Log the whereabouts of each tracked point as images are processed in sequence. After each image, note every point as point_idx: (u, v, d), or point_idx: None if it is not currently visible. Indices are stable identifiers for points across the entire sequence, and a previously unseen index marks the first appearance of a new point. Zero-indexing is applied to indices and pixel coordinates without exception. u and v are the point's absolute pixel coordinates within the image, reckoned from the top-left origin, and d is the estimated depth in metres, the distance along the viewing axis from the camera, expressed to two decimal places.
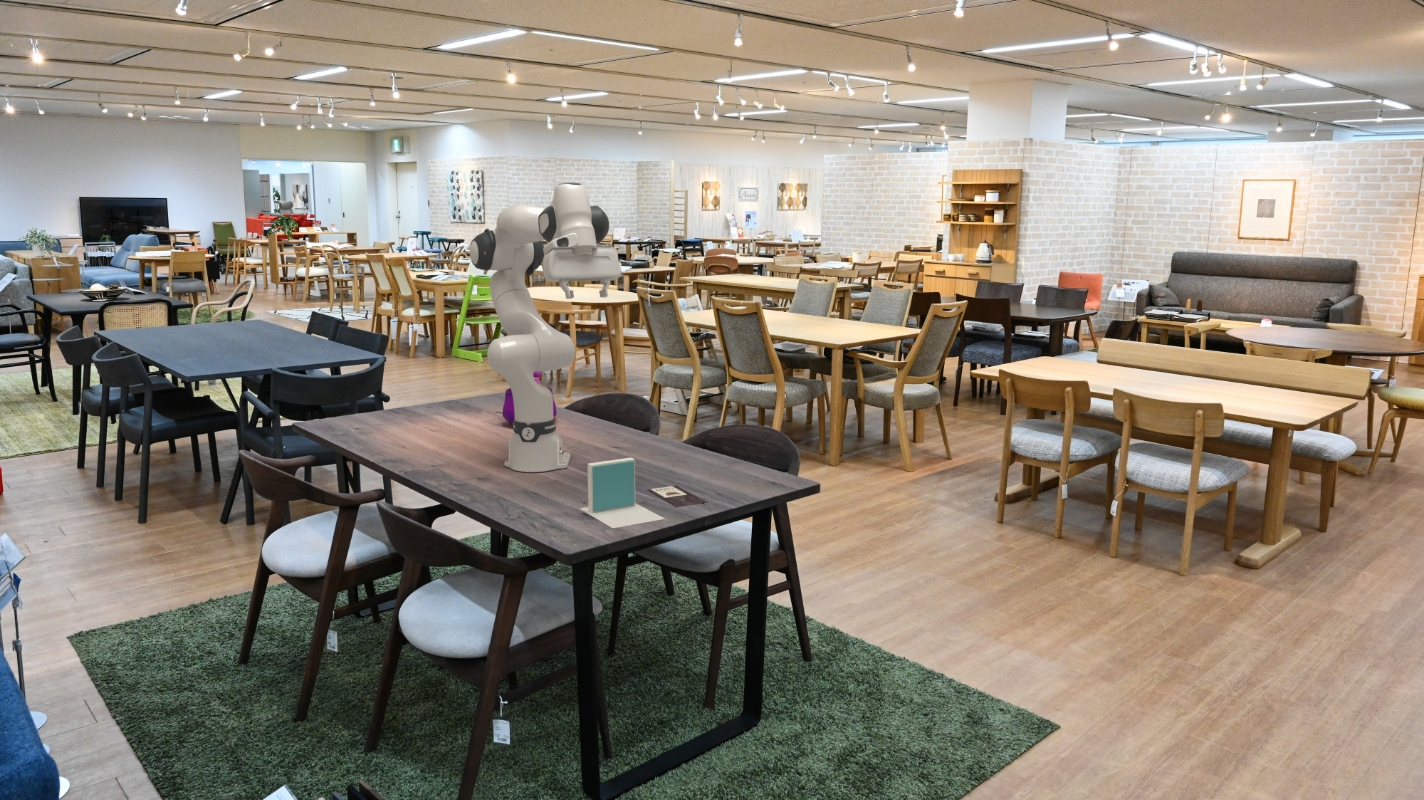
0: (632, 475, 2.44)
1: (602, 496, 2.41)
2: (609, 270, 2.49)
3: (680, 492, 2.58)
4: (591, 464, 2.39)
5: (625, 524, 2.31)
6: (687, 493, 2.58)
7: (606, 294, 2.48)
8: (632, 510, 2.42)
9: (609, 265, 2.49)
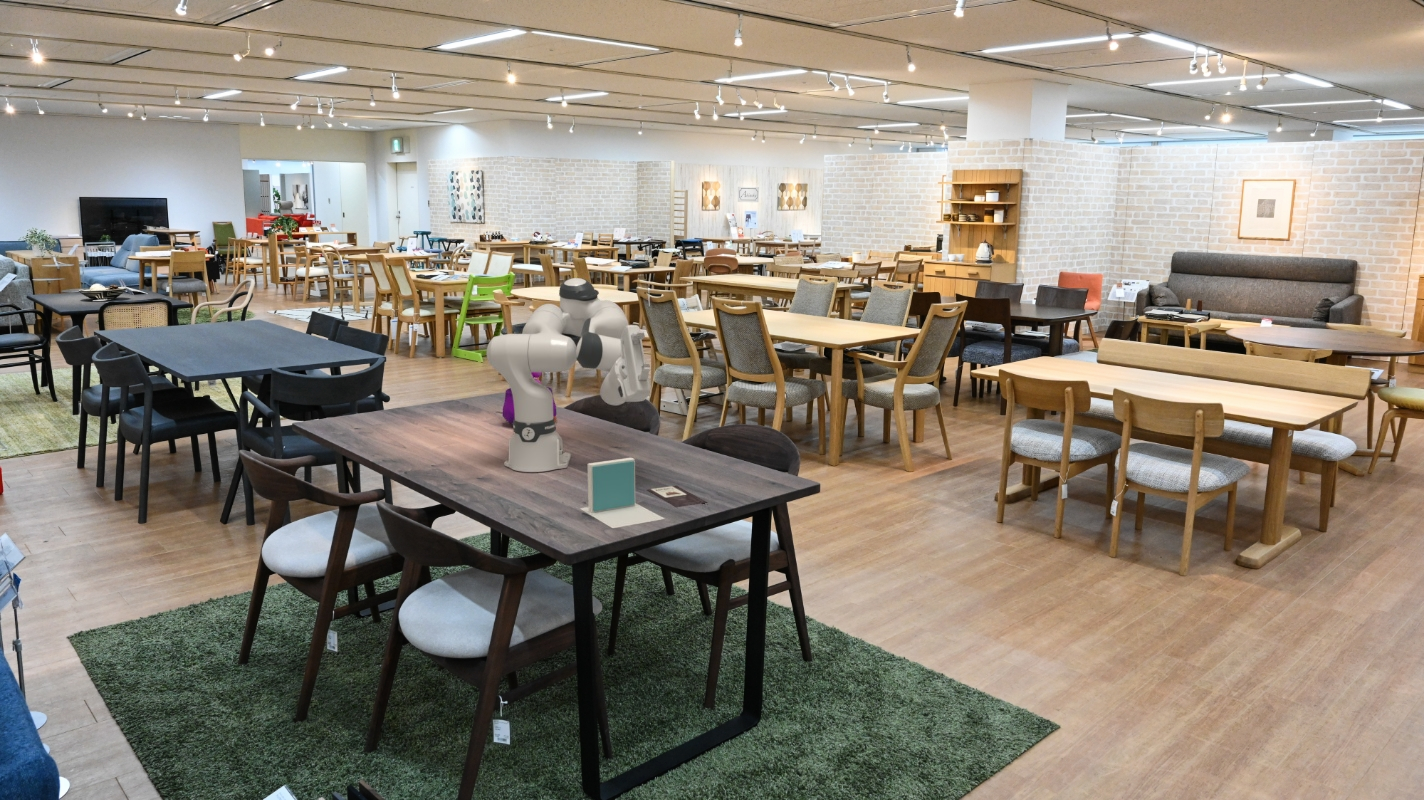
0: (632, 475, 2.44)
1: (602, 496, 2.41)
2: (626, 339, 2.61)
3: (680, 492, 2.58)
4: (591, 464, 2.39)
5: (625, 524, 2.31)
6: (687, 493, 2.58)
7: (637, 333, 2.56)
8: (632, 510, 2.42)
9: (625, 340, 2.62)
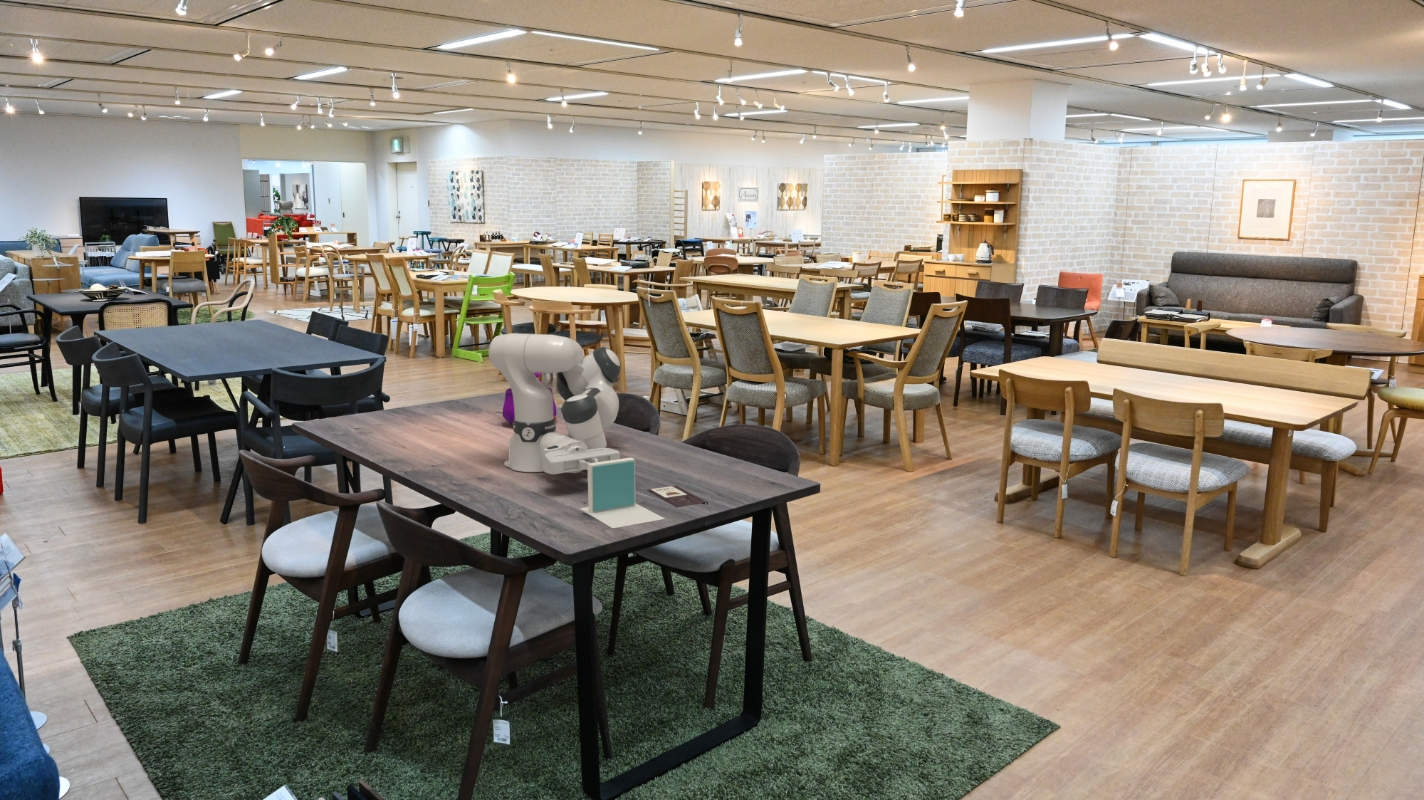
0: (632, 475, 2.44)
1: (602, 496, 2.41)
2: (605, 452, 2.62)
3: (680, 492, 2.58)
4: (591, 464, 2.39)
5: (625, 524, 2.31)
6: (687, 493, 2.57)
7: None
8: (632, 510, 2.42)
9: (604, 450, 2.63)
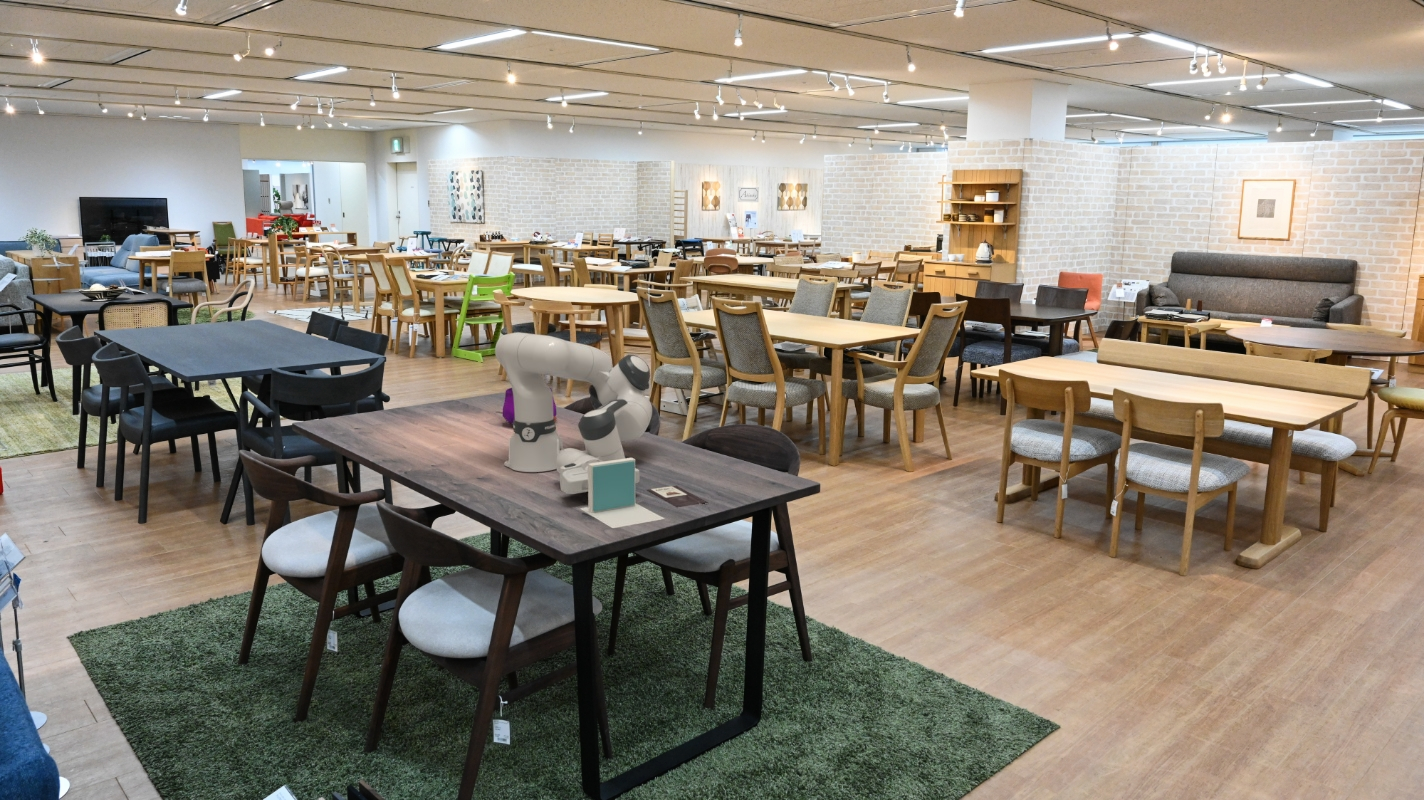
0: (632, 475, 2.44)
1: (602, 496, 2.41)
2: None
3: (680, 492, 2.58)
4: (591, 464, 2.39)
5: (625, 524, 2.31)
6: (687, 493, 2.57)
7: None
8: (632, 510, 2.42)
9: None
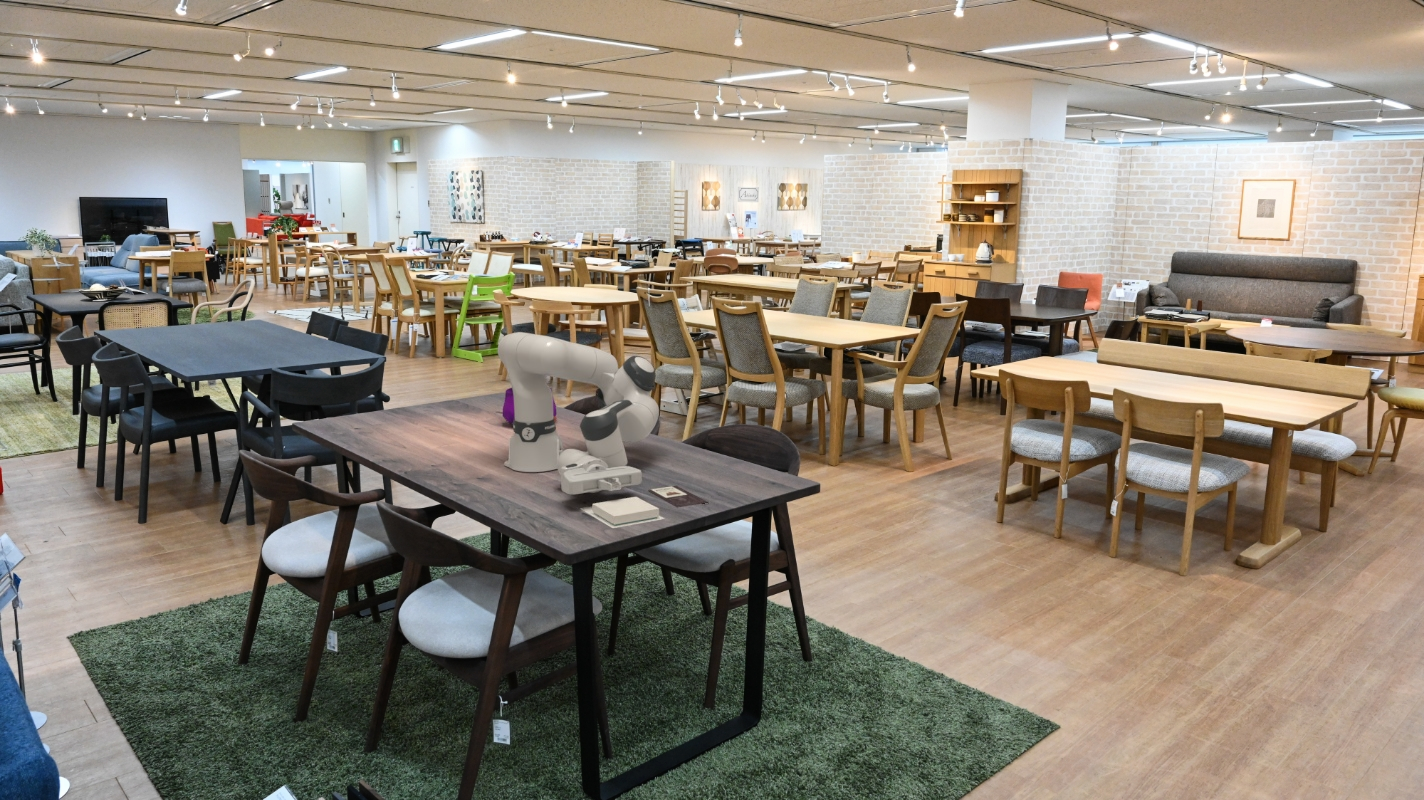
0: None
1: None
2: (627, 471, 2.50)
3: (680, 492, 2.58)
4: (616, 520, 2.30)
5: (625, 524, 2.31)
6: (687, 493, 2.57)
7: (618, 482, 2.42)
8: None
9: (626, 469, 2.51)
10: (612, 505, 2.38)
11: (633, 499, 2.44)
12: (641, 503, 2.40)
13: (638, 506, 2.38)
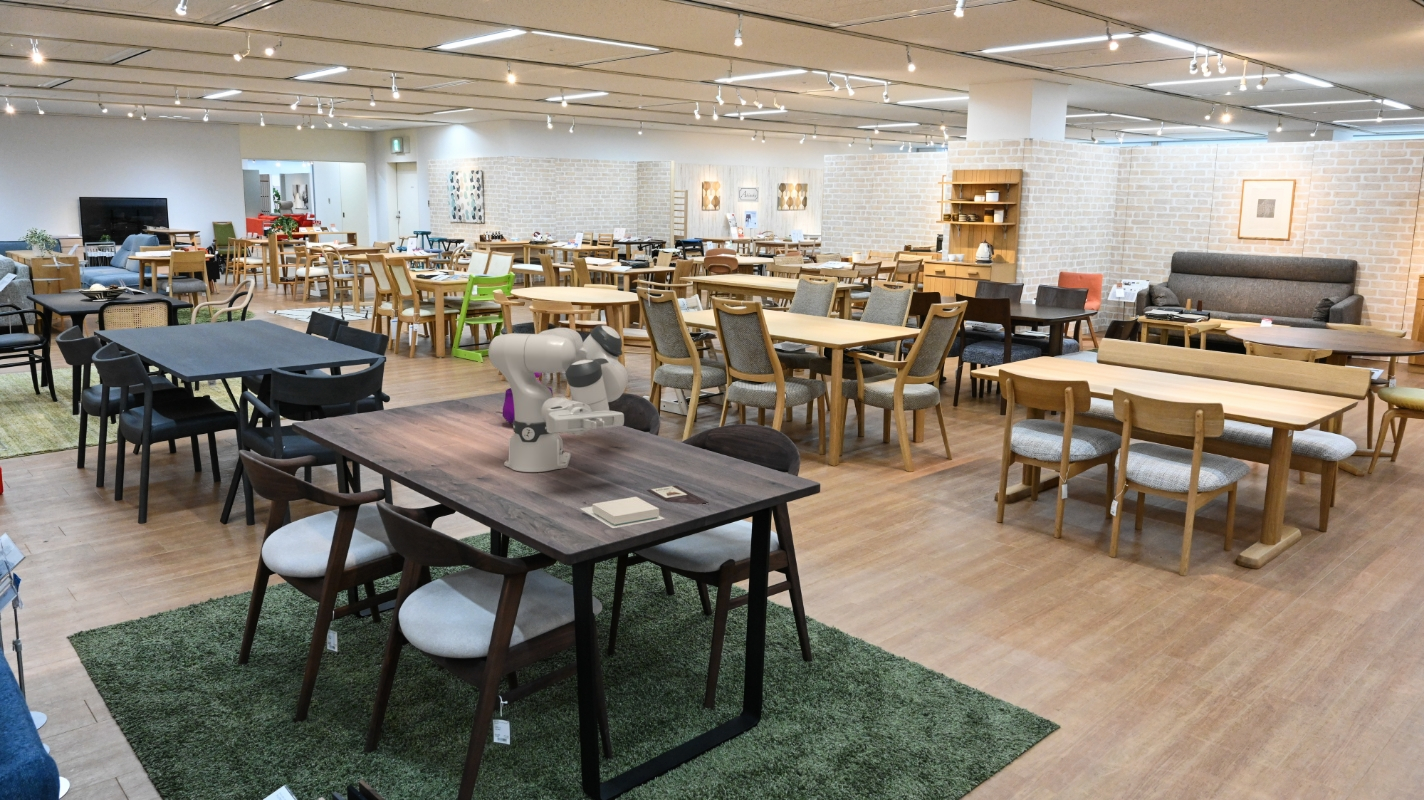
0: None
1: None
2: (610, 413, 2.60)
3: (681, 492, 2.58)
4: (616, 520, 2.30)
5: (625, 524, 2.31)
6: (687, 493, 2.57)
7: (602, 421, 2.52)
8: None
9: (608, 412, 2.61)
10: (612, 505, 2.38)
11: (633, 499, 2.44)
12: (641, 503, 2.40)
13: (638, 506, 2.38)
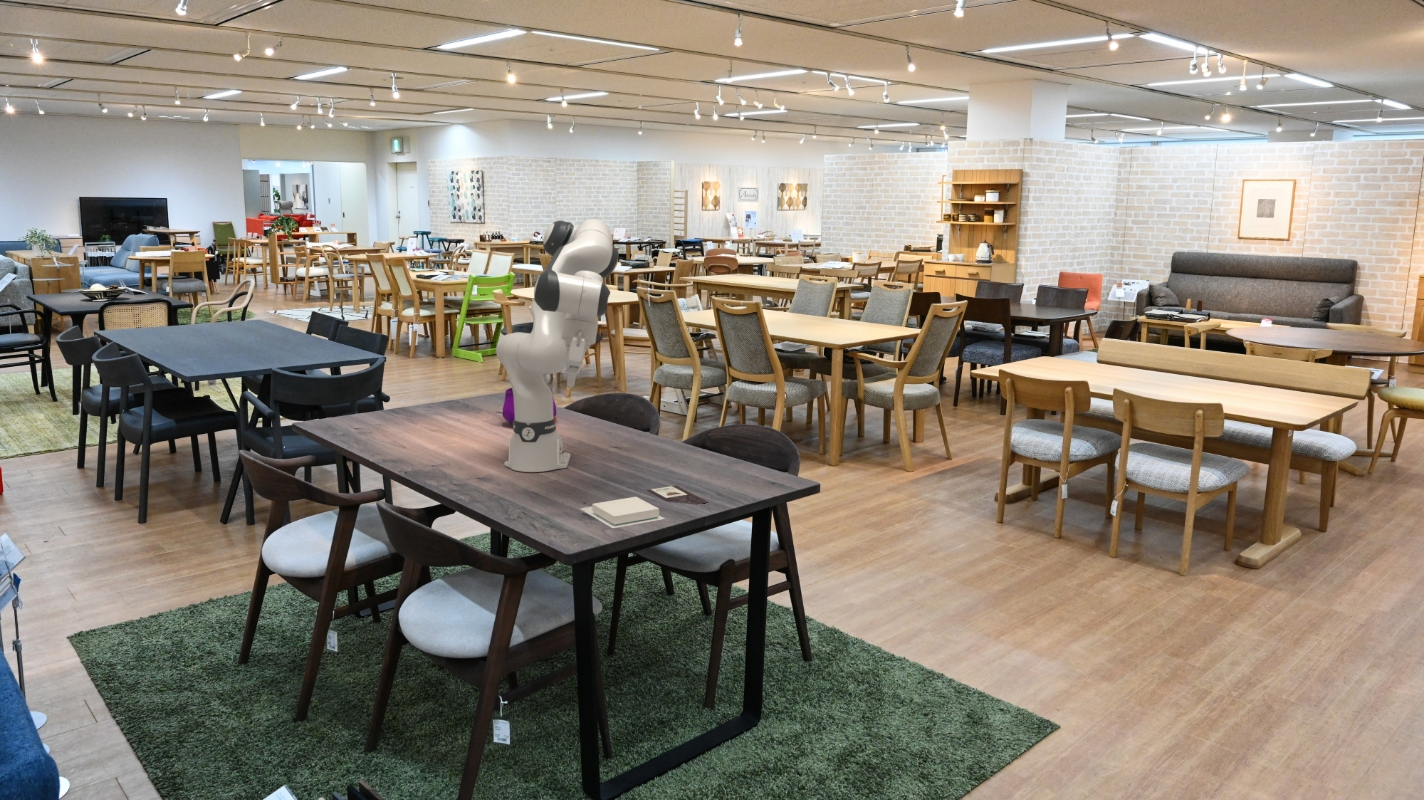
0: None
1: None
2: None
3: (681, 492, 2.58)
4: (616, 520, 2.30)
5: (625, 524, 2.31)
6: (687, 493, 2.57)
7: (567, 384, 2.50)
8: None
9: None
10: (612, 505, 2.38)
11: (633, 499, 2.44)
12: (641, 503, 2.40)
13: (638, 506, 2.38)
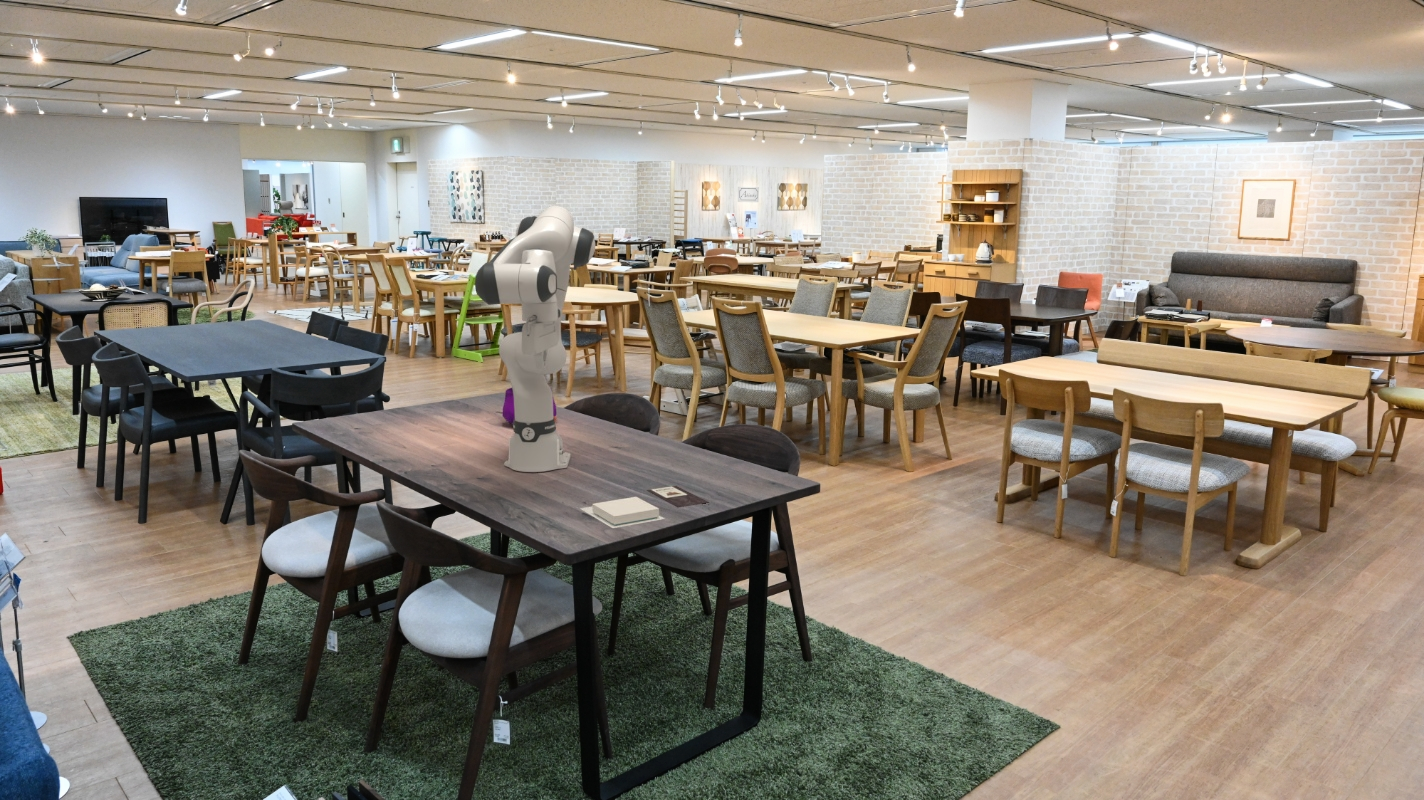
0: None
1: None
2: None
3: (681, 492, 2.58)
4: (616, 520, 2.30)
5: (625, 524, 2.31)
6: (688, 493, 2.57)
7: None
8: None
9: None
10: (612, 505, 2.38)
11: (633, 499, 2.44)
12: (641, 503, 2.40)
13: (638, 506, 2.38)
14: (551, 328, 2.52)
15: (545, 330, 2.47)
